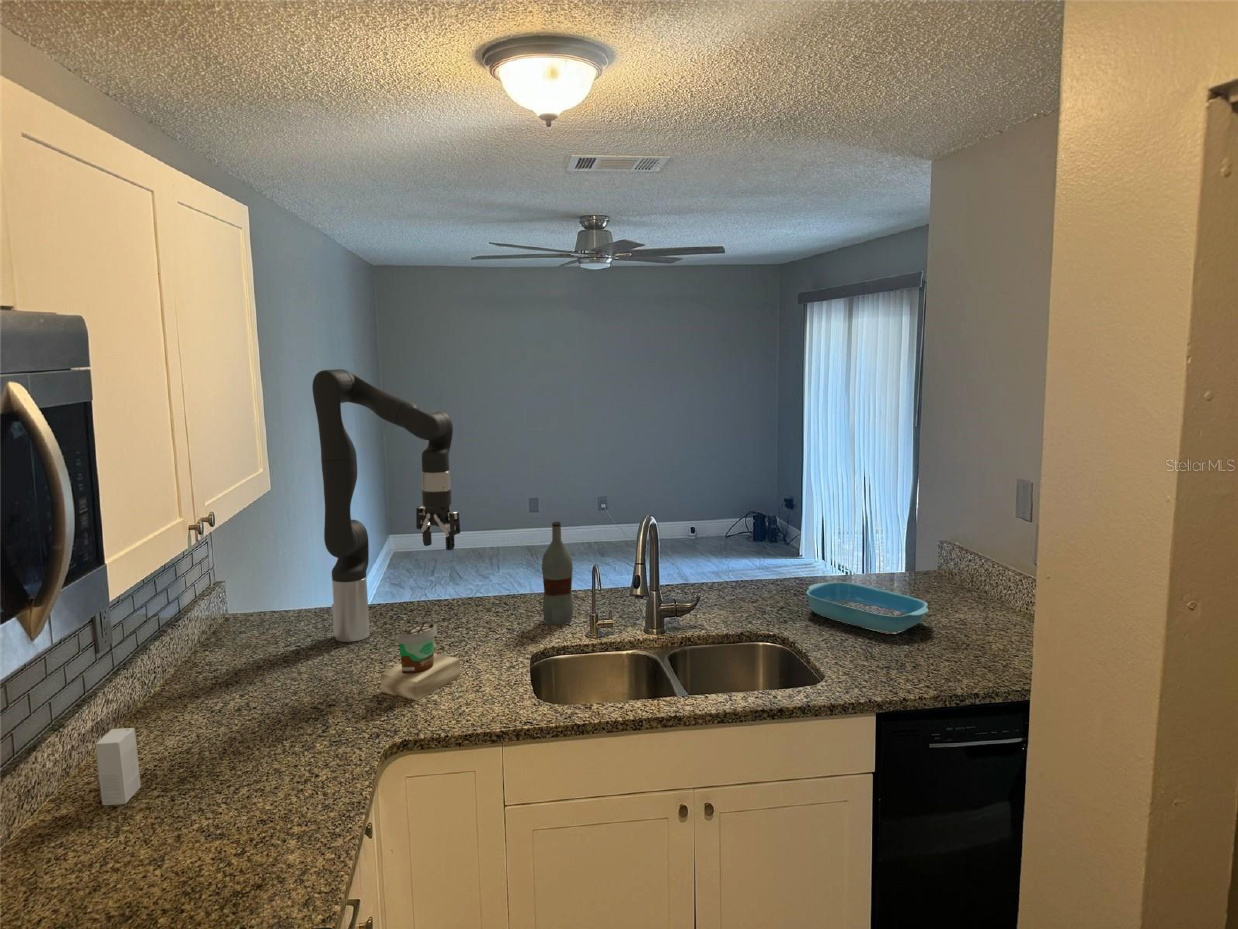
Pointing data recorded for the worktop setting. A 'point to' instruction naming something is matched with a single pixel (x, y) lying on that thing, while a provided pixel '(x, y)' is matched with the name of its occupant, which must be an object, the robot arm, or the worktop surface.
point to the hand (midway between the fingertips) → (438, 547)
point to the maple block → (420, 678)
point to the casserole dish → (829, 593)
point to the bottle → (557, 580)
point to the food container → (417, 648)
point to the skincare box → (118, 766)
